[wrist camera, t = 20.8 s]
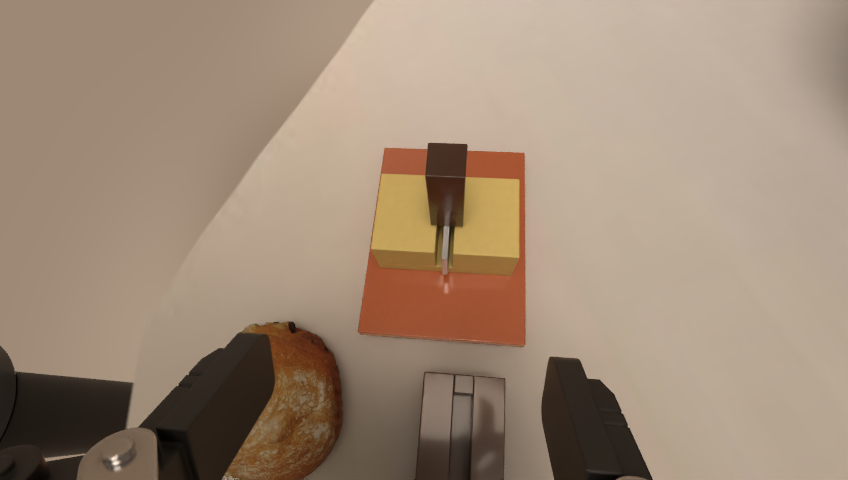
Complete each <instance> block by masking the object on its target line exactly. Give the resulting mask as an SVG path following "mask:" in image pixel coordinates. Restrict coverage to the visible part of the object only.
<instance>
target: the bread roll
mask: <svg viewBox="0 0 848 480" xmlns="http://www.w3.org/2000/svg"><path fill="white" fill-rule="evenodd" d="M242 332H247V333H260V334H267V335H268V336H269V339H270V344H271V351H272V358H273V365H274V372H275V386H274V391H273V394H272V396H271V399H270V400H269V402H268V404H267V405H266V407H265V409H264V410H263V412H262V414H261V415H260V417H259V418H258V420H257V422H256V423H255V425H254V427H253V428H252V430H251V432H250V433H249V435H248V437H247V438H246V440H245V442H244V443H243V445H242V447H241V448H240V450H239V452H238V453H237V455H236V456H235V458H234V460H233V461H232V463H231V465H230V466H229V468H228V470H227V471H226V473H225V476H226V477H229V476H233V478H238V479H241V480H301V479H303V478H304V477H306V476H307V475H309V474H310V473H312V472H313V471H314V470H315V469H316V468H317V467H318V466H319V465H320V464H321V463H322V462H323V461H324V460H325V458H326V457H327V456H328V454H329V453H330V451H331V449H332V447H333V446H334V444H335V442H336V440H337V438H338V436H339V432H340V429H341V425H342V400H341V385H340V378H339V371H338V367H337V365H336V361H335V358H334V355H333V353H332V352H331V351H330V350H329V349H328V348H327V347H326V346H325V344H324V343H323V341H322V339H321V338H320V337H318V336H317V335H314V334H312V333H310V332H307V331H304V330H302V329H299V328H296V327H295V324H294V322H285V323H279V322H274V323H268V322H266V325H264V326H259V325H258V324H252V325H249V326H248V327H246V328H245V329H244V330H243V331H242Z"/></svg>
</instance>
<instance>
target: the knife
mask: <svg viewBox="0 0 848 480" xmlns="http://www.w3.org/2000/svg"><path fill="white" fill-rule="evenodd" d="M466 164H467V144H447V143H428V150H427V160H426V171H425V180H426V189H427V197H428V206H429V214H430V222H431V225H439V226H444V231H443V245H442V258H441V260H442V273H443V275H448V267H449V253H450V238H451V226H459V227H463V219H464V201H465V182H466Z"/></svg>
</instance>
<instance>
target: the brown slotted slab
mask: <svg viewBox="0 0 848 480" xmlns="http://www.w3.org/2000/svg"><path fill="white" fill-rule="evenodd" d="M504 435H505V378H494V377H483V376H471V375H459V374H455V375H454V374H447V373H435V372H424V382H423V394H422V406H421V418H420V430H419V442H418V454H417V466H416V478H415V480H504Z"/></svg>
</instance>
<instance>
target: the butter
mask: <svg viewBox="0 0 848 480" xmlns="http://www.w3.org/2000/svg"><path fill="white" fill-rule="evenodd" d="M443 231H444V226H439V225H431V222H430V214H429V206H428V197H427V189H426V180H425V175H404V174H382V175H381V181H380V188H379V195H378V201H377V208H376V215H375V222H374V229H373V236H372V243H371V250H372V252H373V254H374V256H375V258H376V260H377V262H378V265H379V267H380V268H393V269H409V270H425V271H441V272H442V260H441V258H442V245H443ZM518 259H519V179H500V178H476V177H466V182H465V201H464V219H463V227H459V226H451V238H450V253H449V267H448V272H457V273H472V274H488V275H504V276H512V273H513V271H514V269H515V266H516V264H517V262H518Z"/></svg>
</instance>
